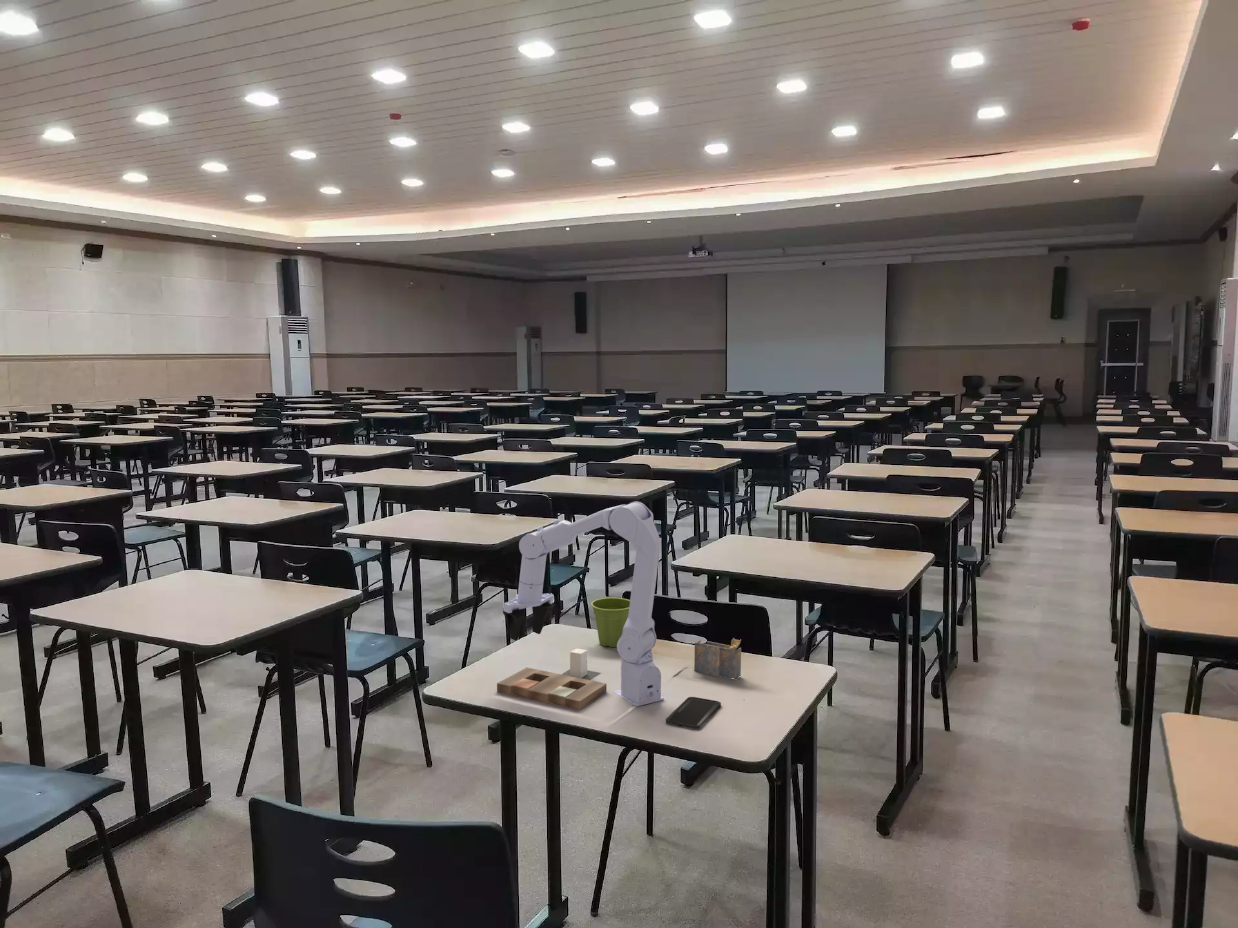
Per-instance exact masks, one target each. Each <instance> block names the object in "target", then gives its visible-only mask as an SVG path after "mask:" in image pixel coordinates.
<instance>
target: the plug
mask: <svg viewBox="0 0 1238 928" xmlns="http://www.w3.org/2000/svg"><path fill="white" fill-rule="evenodd" d="M569 670H570V676H572V677H577V678H582V677H584V676H585V675H587V670H588V650H587V649H583V648H582V649H581V648H577V647H576V648H575V649H573V650H571V651H569Z"/></svg>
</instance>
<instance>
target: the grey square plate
mask: <svg viewBox="0 0 1238 928" xmlns="http://www.w3.org/2000/svg"><path fill="white" fill-rule="evenodd" d="M561 674H562V675H567V676H570V669H567V670H566V671H565V672H563V673H561ZM599 675H602V672H598V671H593V670H588V669H587V675H585V676H584V677H582V678H581V679H586V680H591V681H592V680H593V679H595V678H596V677H597V676H599ZM571 677H572V676H571ZM576 678H577V677H576Z"/></svg>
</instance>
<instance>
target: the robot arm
mask: <svg viewBox="0 0 1238 928" xmlns="http://www.w3.org/2000/svg"><path fill="white" fill-rule="evenodd" d="M601 527H602V528H604V529H606V530H607V531H611V530H612V531H613V532H614V533H616V534H617V535H618V536H620V537H621V538H623V539H624V540H626V541H628V542H629V543H630V544H631V545H632V546H633V548H635V559H634V567H633V576H632V584H631V589H630V591H631V592H630V597H629V600H630V606H629V614H628V618H627V621H626V623H625V625H624V627H623V633H622V636H621V637H620V639H619V640H618V643H617V647H616V650H617V654H618V655H619V656H620V689H616V690H613V691H612V692H613V693H615V694H616V695H617V696H619V697H621V698H622V699H624V700H626V701H627V702H629V703H631V704H632V706H633V707H640V706H643V705H648V704H651V703H656V702H659V701H664V700H665V698H664V697H663V695H662V694H661V693H662V673H661V670H660V669H659V668H658V667H657V666H656V665H655V664H656V663H654V659H653V658H654V655H653V652H652V649H653V648H654V647H655V646H656V644H657V634H656V631H655V624H656V623H655V622H656V621H655V620H654V619H653V618H652V616H653V614H652V613H653V607H654V599H655V592H656V591H655V590H656V585H657V577H658V568H659V560H660V552H661V546H662V545H661V537H660V536H659V535H660V534H659V532H658V530H657V527H656V524H655V521H654V514H653V512H652V511H651V510H650V508H648V507H647V506H646V505H645V504H644V503H642V502H641V501H631V502H629V503H628V504H626V503H625V504H620V505H616V506H612V507H609V508H608V507H607V508H605V509H603V510H600V511H596V512H595V513H592V514H590V515H588V516H585V517H584V518H581V519H578V520H576V521H574V522H571V521H569V520H567V519H565V520H561V518H560V519H557V520H554V521H553V524H551V525H548V526H546V527H543V526H541V527H539V528H536V530H537V531H533V532H531V533H526V534H525V535H523V537H522V538H521V539H520V540H519V542H518V548H519V552H520V554H521V563H520V573H519V579H518V580H519V582H518V588H517V590H518V591H517V594H515V598H513V599H511V600H510V601H506V602H504V603H503V609H502V613H503V616H504V618H505V620H506V623H507V624H506V625H507V627H508V634H509V639H511V640H513V641H514V642H515V641H518V640H519V637H520V632H521V627H522V623H523V620H524V619H525V616H526V615H525V614H523V613H521V611H520V610H523V609H527V608H531V609H532V626H531V627H532V632H533V633H535V634H537V635H540V634H541V633H542V630H543V628H544V626H545V623H546V622H547V619H548V617H549V616H550V614H551V613H552V612H553V610H554V606H553V605H552V604H553V603H554V595H553V594H550V593H548V592H547V593H543V592H544V591H543V589H544V582H545V581H544V580H545V573H546V563H547V562H546V561H547V555H548V554H549V552H550V553H551V552H554V551H556V550H560V549H561V548H564V547H567V546H569V545H571V544H574V543H575V541H576V538H577V536H580V535H582V534H585V533H588V532H590V531H593V530H596V529H599V528H601Z"/></svg>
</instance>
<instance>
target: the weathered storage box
mask: <svg viewBox="0 0 1238 928" xmlns="http://www.w3.org/2000/svg"><path fill="white" fill-rule="evenodd" d="M741 642H742V639H740V640H739V639H735V637H733V638H732V639H731V642H730V645H729V644H723V643H719V642H715V641H714V642H712V641H708V640H707V641H706V643H704V642H703V643H702V640H701V639H698V640H697V641H695V642H694V667H693V669H694V672H699V673H703V674H707V675H712V676H717V677H720V676H722V677H721V678H725V677H726V679H729V678H734V679H737V678H738V677H739V676H741V672H742V671H741V669H742V668H741V667H742V665H741V664H742V647H739V646H740V644H741ZM734 679H733V680H734ZM738 679H739V678H738ZM738 679H737V680H738Z"/></svg>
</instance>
